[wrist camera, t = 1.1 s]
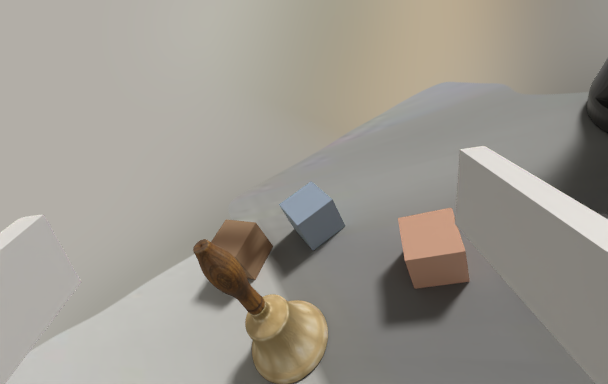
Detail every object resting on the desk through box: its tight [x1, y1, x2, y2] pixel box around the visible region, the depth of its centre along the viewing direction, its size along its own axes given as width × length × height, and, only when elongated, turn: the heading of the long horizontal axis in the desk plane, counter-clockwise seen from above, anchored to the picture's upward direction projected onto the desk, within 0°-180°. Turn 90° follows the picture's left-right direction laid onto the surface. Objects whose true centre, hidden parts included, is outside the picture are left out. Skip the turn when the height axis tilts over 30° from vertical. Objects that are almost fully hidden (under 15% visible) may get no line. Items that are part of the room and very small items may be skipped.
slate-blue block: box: [279, 181, 345, 250], centre depth 43 cm, size 5×5×5 cm
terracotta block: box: [398, 208, 470, 289], centre depth 33 cm, size 5×5×5 cm
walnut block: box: [211, 220, 273, 280], centre depth 43 cm, size 5×5×5 cm
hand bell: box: [193, 239, 328, 384], centre depth 30 cm, size 8×8×16 cm
